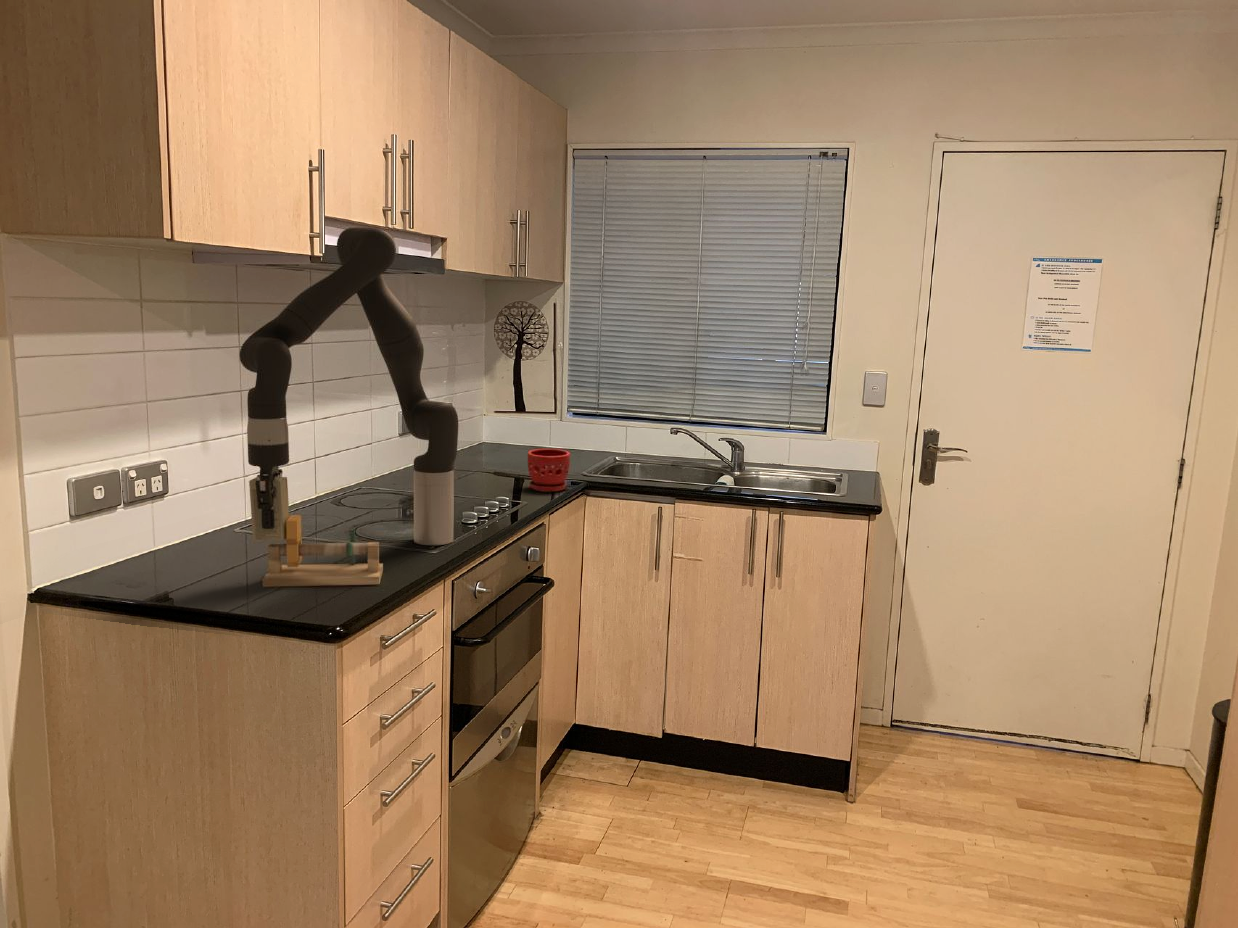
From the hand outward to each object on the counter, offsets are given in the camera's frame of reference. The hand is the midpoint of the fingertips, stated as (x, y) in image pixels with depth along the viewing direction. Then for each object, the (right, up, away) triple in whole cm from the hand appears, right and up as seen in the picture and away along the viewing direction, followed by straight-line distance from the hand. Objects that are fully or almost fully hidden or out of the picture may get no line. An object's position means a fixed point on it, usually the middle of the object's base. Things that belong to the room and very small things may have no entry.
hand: (271, 524), depth 180 cm
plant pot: (+47, +4, +103) cm, 113 cm away
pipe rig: (+10, -11, +3) cm, 15 cm away
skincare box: (0, -3, 0) cm, 3 cm away
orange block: (+4, -8, +2) cm, 9 cm away
